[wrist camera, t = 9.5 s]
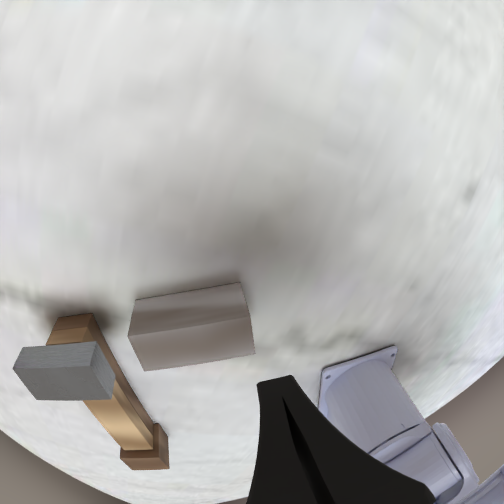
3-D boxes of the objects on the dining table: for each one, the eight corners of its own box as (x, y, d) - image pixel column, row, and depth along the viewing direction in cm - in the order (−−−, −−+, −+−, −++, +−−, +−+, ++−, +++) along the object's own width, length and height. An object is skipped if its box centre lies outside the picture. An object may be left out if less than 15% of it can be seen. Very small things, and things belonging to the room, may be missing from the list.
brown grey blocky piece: (261, 423, 27) (270, 454, 24) (133, 439, 26) (132, 470, 22) (239, 282, 19) (251, 320, 16) (50, 312, 18) (31, 349, 14)
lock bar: (115, 375, 16) (111, 399, 15) (43, 378, 16) (36, 399, 14) (96, 340, 15) (89, 365, 13) (22, 347, 14) (12, 368, 13)
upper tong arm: (153, 436, 23) (153, 449, 22) (124, 437, 23) (124, 450, 22) (87, 326, 17) (81, 341, 16) (52, 330, 17) (45, 344, 15)
